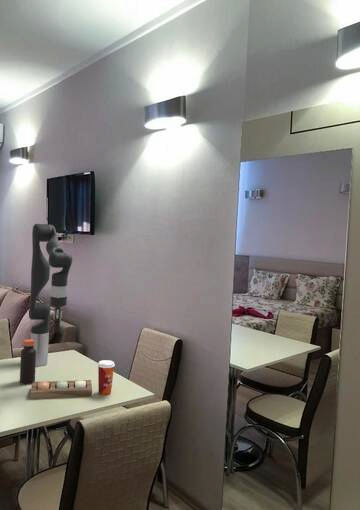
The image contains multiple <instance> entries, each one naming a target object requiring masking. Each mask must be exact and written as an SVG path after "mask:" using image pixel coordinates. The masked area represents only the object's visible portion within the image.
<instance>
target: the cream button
mask: <svg viewBox="0 0 360 510" xmlns="http://www.w3.org/2000/svg"><path fill="white" fill-rule="evenodd" d="M79 380H80V379H79ZM75 381H76V382H75V388H85V387H86V381H82V380H80V381H77V380H75Z"/></svg>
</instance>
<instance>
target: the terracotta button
mask: <svg viewBox="0 0 360 510" xmlns="http://www.w3.org/2000/svg"><path fill="white" fill-rule="evenodd" d="M38 382H39V383H38V389H49V382H46V381H38Z"/></svg>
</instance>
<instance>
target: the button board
mask: <svg viewBox="0 0 360 510" xmlns="http://www.w3.org/2000/svg"><path fill="white" fill-rule="evenodd" d="M59 381H60V380H51V381H45V382H49V389H38V383H39V382H40V381H35V382H33V383H32V384H31V388H30V391H29V400H36V399H37V400H38V399H39V400H40V398H41V400H42V398H43V399H59V398H60V399H61V398H62V399H63V398H64V399H65V397H67V398H85V397H88V398H89V397H93V386H92V379H84V380H82V381H86V387H85V388H75V382H76V381H80V379H79V380H77V379H76V380H65V381H66V382H68V388H58V389H56V387H57V382H59Z"/></svg>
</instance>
